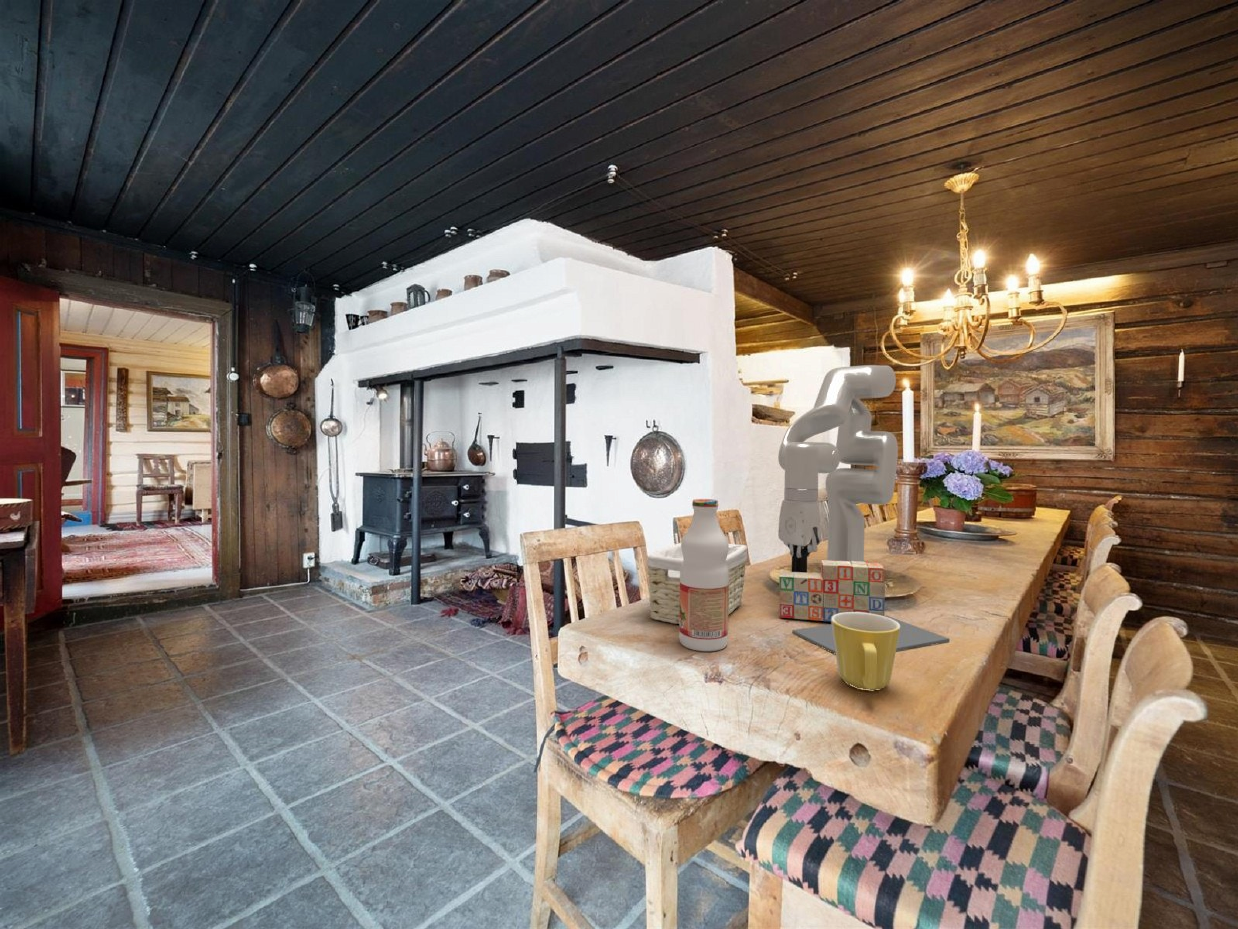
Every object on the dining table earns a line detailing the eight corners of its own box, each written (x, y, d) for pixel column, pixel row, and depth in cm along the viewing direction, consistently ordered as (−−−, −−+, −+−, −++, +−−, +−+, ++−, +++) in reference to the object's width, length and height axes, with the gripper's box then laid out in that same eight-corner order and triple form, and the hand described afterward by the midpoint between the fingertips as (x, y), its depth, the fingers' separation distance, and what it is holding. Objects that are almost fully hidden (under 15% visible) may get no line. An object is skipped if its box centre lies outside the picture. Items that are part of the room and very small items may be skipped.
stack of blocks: (778, 618, 123) (778, 562, 123) (779, 611, 129) (779, 557, 129) (885, 626, 116) (884, 567, 116) (881, 618, 122) (880, 562, 122)
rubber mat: (792, 633, 114) (792, 630, 114) (887, 618, 124) (887, 615, 124) (846, 660, 100) (847, 657, 100) (949, 641, 110) (949, 638, 110)
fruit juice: (708, 656, 101) (710, 504, 100) (669, 642, 108) (670, 499, 107) (737, 643, 108) (740, 500, 107) (699, 631, 115) (700, 496, 113)
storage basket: (687, 595, 142) (688, 537, 141) (749, 605, 134) (750, 544, 133) (643, 621, 121) (643, 554, 120) (713, 635, 113) (714, 563, 112)
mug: (834, 666, 98) (836, 607, 97) (899, 679, 93) (901, 617, 92) (821, 698, 86) (822, 631, 85) (895, 714, 81) (897, 643, 80)
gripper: (768, 493, 136) (766, 567, 137) (809, 499, 122) (807, 582, 123) (793, 492, 139) (791, 565, 140) (836, 498, 125) (834, 579, 126)
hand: (799, 573), depth 131 cm, fingers closed
